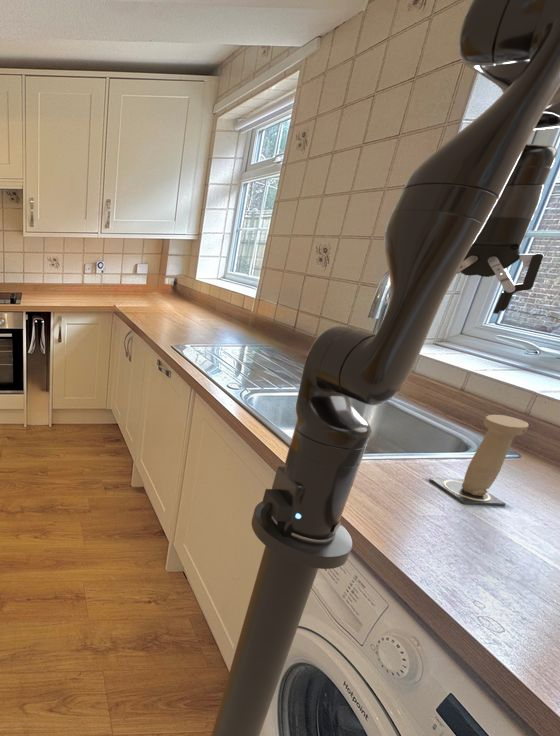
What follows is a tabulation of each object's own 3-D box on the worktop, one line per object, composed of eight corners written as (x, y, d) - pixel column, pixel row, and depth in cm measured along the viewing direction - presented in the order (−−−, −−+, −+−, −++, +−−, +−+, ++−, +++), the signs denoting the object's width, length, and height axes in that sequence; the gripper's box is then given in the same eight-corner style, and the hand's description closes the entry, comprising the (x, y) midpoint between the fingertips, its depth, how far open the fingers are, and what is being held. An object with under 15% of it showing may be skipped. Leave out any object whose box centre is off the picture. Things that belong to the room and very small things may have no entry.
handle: (498, 496, 76) (535, 424, 71) (479, 503, 74) (515, 429, 69) (466, 481, 81) (498, 413, 75) (447, 488, 78) (479, 417, 73)
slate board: (463, 504, 75) (465, 501, 74) (428, 480, 82) (430, 477, 82) (505, 505, 75) (506, 503, 74) (466, 482, 82) (467, 479, 81)
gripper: (442, 214, 73) (411, 305, 79) (564, 214, 63) (518, 318, 69) (449, 216, 78) (418, 301, 84) (563, 217, 68) (520, 313, 74)
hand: (463, 309), depth 76 cm, fingers open, 8 cm apart
